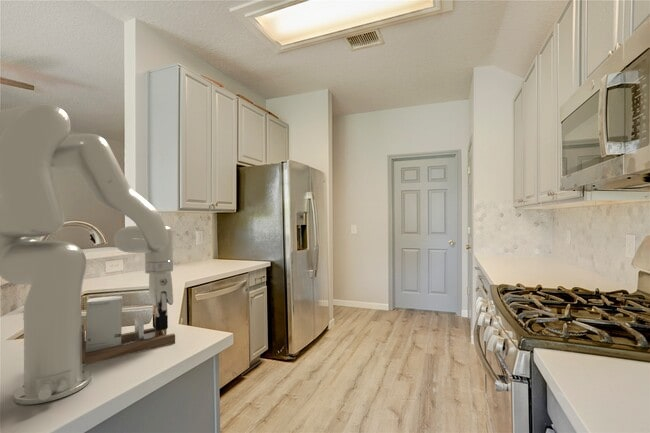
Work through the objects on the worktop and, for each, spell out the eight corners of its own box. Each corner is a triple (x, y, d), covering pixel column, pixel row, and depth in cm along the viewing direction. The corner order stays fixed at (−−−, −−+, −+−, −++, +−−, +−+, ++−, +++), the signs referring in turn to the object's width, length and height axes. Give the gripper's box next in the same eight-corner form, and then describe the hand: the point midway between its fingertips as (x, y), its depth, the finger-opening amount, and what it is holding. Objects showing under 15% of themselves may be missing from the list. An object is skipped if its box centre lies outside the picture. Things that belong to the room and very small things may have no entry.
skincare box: (84, 360, 85) (84, 302, 85) (87, 352, 90) (86, 298, 90) (122, 352, 89) (122, 297, 89) (122, 345, 94) (122, 294, 94)
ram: (168, 341, 96) (168, 304, 97) (139, 348, 92) (138, 309, 92) (163, 335, 102) (162, 300, 102) (134, 341, 97) (134, 304, 97)
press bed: (175, 343, 95) (174, 315, 95) (73, 367, 80) (72, 334, 81) (165, 332, 104) (164, 307, 105) (72, 352, 90) (71, 323, 90)
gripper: (179, 268, 94) (180, 332, 94) (166, 263, 107) (167, 319, 107) (151, 271, 90) (152, 338, 89) (140, 265, 103) (141, 324, 102)
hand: (160, 327), depth 98 cm, fingers closed on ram, 3 cm apart
